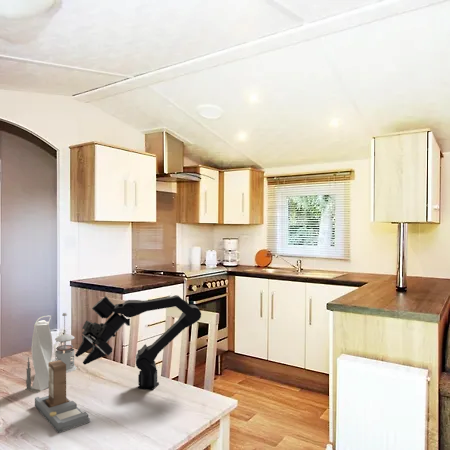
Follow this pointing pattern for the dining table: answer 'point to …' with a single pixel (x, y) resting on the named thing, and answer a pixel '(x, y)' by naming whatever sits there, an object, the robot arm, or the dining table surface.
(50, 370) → the wooden block
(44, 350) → the skyscraper
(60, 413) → the grey compartment tray
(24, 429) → the dining table surface
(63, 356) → the french press
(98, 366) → the dining table surface
